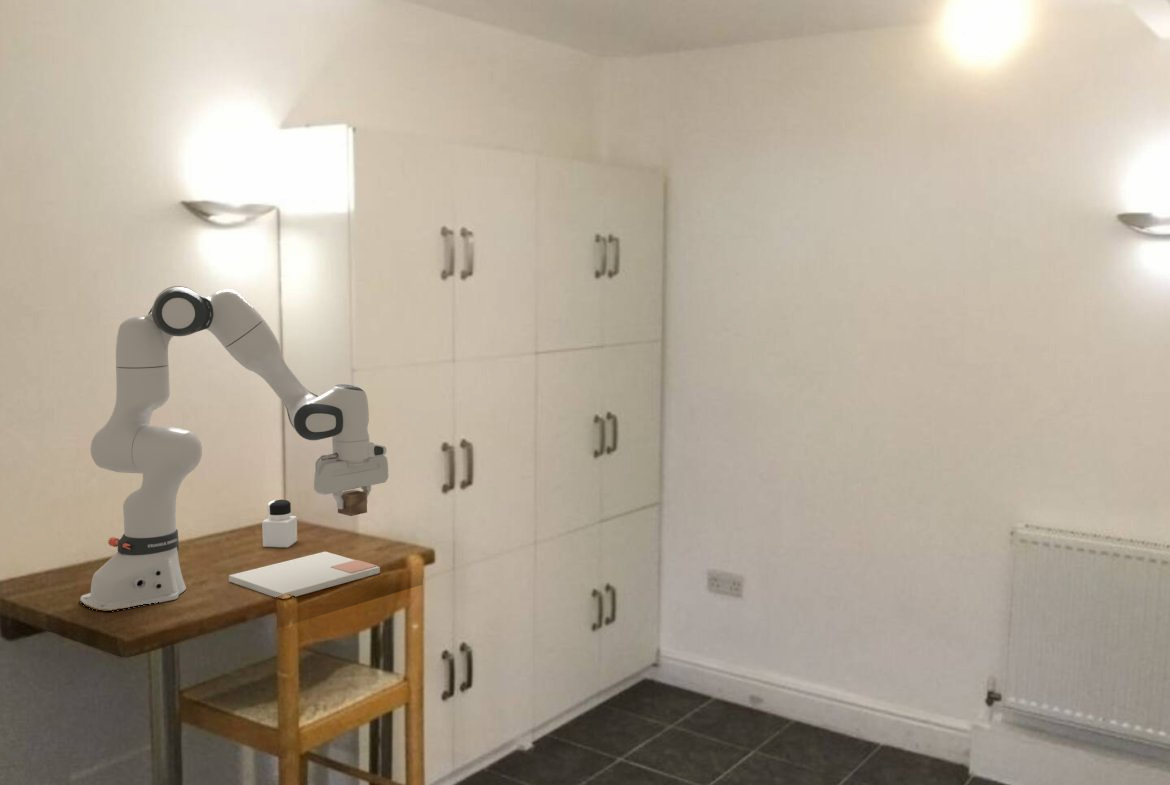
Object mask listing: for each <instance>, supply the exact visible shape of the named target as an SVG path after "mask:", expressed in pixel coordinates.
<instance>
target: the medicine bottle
mask: <svg viewBox="0 0 1170 785" xmlns="http://www.w3.org/2000/svg"><path fill="white" fill-rule="evenodd" d="M291 505H292V504H291V502H290V501H289V500H287V499H274V500H271V501H269V502H267V518H266V519H264V520H263V521H262V522H261V524H262V525H261V527H262V528H261V530H262V531H261V532H262V547H264V548H285V549H287V548H289V547H290V546H292V545H294V544H295V543H296V542H297V541H298V516H296V515H292V506H291Z"/></svg>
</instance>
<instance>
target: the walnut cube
mask: <svg viewBox="0 0 1170 785" xmlns="http://www.w3.org/2000/svg"><path fill="white" fill-rule="evenodd" d="M362 491H363V490H361V491H360V490H357V489H350V490H345V491H343V495H342V496H341V498H342V499H343V501H346V508H344V509H338V508H337V514H341V515H344V516H348V517H353V516H358V515H362V514H366V513H368V497H367V493H366V492H362Z"/></svg>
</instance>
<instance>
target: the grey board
mask: <svg viewBox="0 0 1170 785" xmlns="http://www.w3.org/2000/svg"><path fill="white" fill-rule="evenodd" d="M380 572H381V567H380V566H378V565H376V564H373V563H369V562H366V561H364V560H363V561H362V560H360V559H353V558H349V557H345V556H343V555H339V554H335V553H331V552H329V551H322V552H317V553H314V554H309V555H305V556H302V557H298V558H293V559H290V560H286V561H282V562H278V563H273V564H269V565H266V566H261V567H257V568H252V569H249V570H245V571H241V572H237V573H233V574H229V575H228V581H229V583H233V584H235V585H238V586H241V587H244V588H247V589H250V590H253V591H254V592H259V593H261V594H264V595H267V596H269V597H274V598H276V597H278V596H281V595H287V594H291V595H294V596H295V597H299V596H303V595H306V594H307V595H308V594H310V593H314V592H317V591H321V590H323V589H327V588H330V587H331V588H332V587H335V586H338V585H339V586H340V585H341V584H345V583H350V582H352V581H355V580H361V579H364V578H367V577H370V576H374V575H378V574H381V573H380ZM295 597H294V598H295ZM276 599H277V598H276Z"/></svg>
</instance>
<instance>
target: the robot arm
mask: <svg viewBox="0 0 1170 785" xmlns="http://www.w3.org/2000/svg"><path fill="white" fill-rule="evenodd" d="M203 330H207V331H208V332H210V333H211V334H212V335H214V337H215V338H216V339H217V340H218V341H219V342H220V344H221V345H222V346H223V348H224V349H225V350H226V351H227V353H229V354H230V356H231V357H232V358H233V359H234V360H235V361H236V362H237V363H238V364H240V365H241V366H242V367H243V368H245V369H246V370H248V371H250V372H253V373H255V374H257V375H258V376H260V377H261V378H262V379H263V380H264V381H265V382H266V383H267V384H268V386H269V387H270V388H271V389H272V390H273V392H274V393H275V394H276V396H278V397H279V399H280V401H281V402H282V403H283V405H284V406H285V409H286V412H287V417H288V421H289V423H290V425H291V427H292V428H293V429H294V430H295V432H296V433H297V434H298V435H299V436H300V437H301V438H303V439H305V440H308V441H318V440H325V439H327V438H328V439H329V438H331V439H332V440H331V441H332V453H328V454H326V455H320V457H319V458H318V459H317V460H315V464H314V465H315V471H314V480H313V484H314V485H313V489H314V491H315V493H317V494H320V495H324V496H325V495H330V494H332V497H333V498H334V500H335V501H336V507H337V510H338V509H344V508H346V501H343V499H342V498H341V496H342V495H343V492H345V491H349V490H356V489H359V488H361V491H362V492H366V493H367V498H368V497H369V496H370V493H371V491H372V486H373V485H374V486H375V485H380V484H385V483H386V482H387V481H388V478H389V463H388V459H387V458H388V457H386V456H385V455H386V454H387V446H385V445H380V444H375V443H374V442H370V434H369V431H368V430H369V429H368V426H369V421H370V414H369V413H370V412H369V402H368V396H367V394H366V391H365V390H363V389H362V388H361V387H359V386H355V385H350V384H344V383H343V384H340V383H339V384H336V385H334V386H333V387H332V388H330V389H329V390H327V391H326V392H324V393H322V394H320V395H319V396H318V395H317V394H315V393H313V392H311V391H309V390H308V389H307V388H306V387H305V386H304V385H303V384H302V382H300V380H299V378H297V376H296V375H295V374H294V373H293V371H292V369H290V368H289V366H288V365H287V363H286V362H285V360H284V358H283V355H282V351H281V346H280V342H278V339H277V337H276V335H275V334H274V332H273V330H272V329H271V327H270V325H269V324H268V323H267V322H266V320H265V319H264V317H262V315H261V314H260V312H258V310H257V309H256V308H255V307H254V306H253V305H252V304H251V303H250V302H248V300H247V299H246V298H245V297H243V296H242V294H239V292H238V291H236V290H233V289H221V290H217V291H216V292H214V293H212V294H211V295H208V296H202V295H200V294H198V293H197V292H196V291H194V290H193V289H191V288H190V287H187V286H183V285H182V286H181V285H174V286H170V287H167V288H165V289H163V290H161V292H159V294H158V295H156V298H155V300H154V301H153V303H152V307H151V308H150V310H149V312H148V313H147V315H142V316H141V315H140V316H132V317H130V318H128V319H125V320H124V321H122V323H121V324H120V325H119V327H118V332H117V335H116V345H115V371H116V372H115V373H116V374H115V376H116V379H115V380H116V398H115V404H114V407H113V412H112V413H111V416H110V418H109V419H108V421H107V423H106V424H105V425H103V426H102V428H100V429H99V430H98V431H97V432H96V433H95V434H94V436H93V438H92V440H91V443H90V455H91V459H92V461H93V462H94V463H95V465H96V466H97V467H99V468H101V469H104V470H108V471H110V472H115V473H120V474H121V473H122V474H123V473H124V474H125V473H126V474H142V481H141V482H142V483H141V485H140V488H138V489H137V490H135V491H133V492H131V493H130V494H129V495H128V496H127V497H126V498H125V500H124V501H123V504H122V511H123V513H122V514H123V530H124V531H123V532H124V533H123V534H122V536H121V538H120V539H119V537H118V538H116V537H114V536H112V537H111V536H110V538H108V540H107V543H108V545H109V546H111V547H114V548H117V550H116V551H117V552H116V553H115V554H114V555H112V556H111V557H110V559H108V560H107V561H106V562H105V563H104V564H103V565H102V566H101V567H99V569H98V570H96V571H95V572H94V573H93V575H92V580H91V584H90V592H88V593H85V594H82V595H81V596H80V601H82V602H83V603H84V604H86V605H89V606H91V607H94V608H98V609H108V610H112V609H117V608H125V607H130V606H136V605H143V604H149V605H152V604H151V603H154V604H158V602H159V603H164V602H169V601H173V600H177V599H178V598H179V596H180V595H181V594H183V592H185V590H186V589H187V586H186V584H185V580H184V578H183V574H182V571H181V566H180V561H179V560H180V559H179V553H178V552H179V546H180V545H179V530H178V529H177V527H176V526H177V525H176V519H177V518H176V507H177V506H176V503H177V495H178V492H179V488H180V486H181V484H182V483H183V481H184V480H185V478H186V477H187V476H188V475H189V474H190V473H191V472H192V471H194V470H195V469H196V467H197V466H198V464H199V463H200V461H201V458H202V454H203V446H202V443H201V441H200V438H199V436H198V435H197V434H196V433H195V432H193V431H191V430H188V429H185V428H180V427H176V426H159V425H158V426H153V425H151V419H152V418H151V417H152V414H153V413H154V411H156V410H157V409H159V408H161V407H163V406H164V405H165V404H166V402H167V401H168V400H169V398H170V394H171V392H170V370H169V366H170V365H169V344H170V341H171V340H172V338H174V337H185V336H186V337H187V336H190V335H192V334H193V335H194V334H195V333H197V332H200V331H203ZM143 606H144V605H143Z"/></svg>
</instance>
